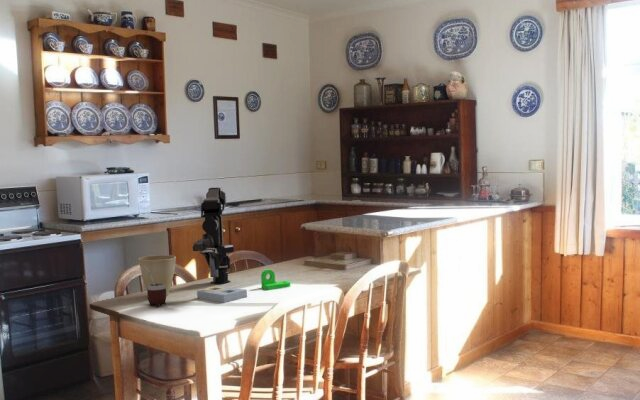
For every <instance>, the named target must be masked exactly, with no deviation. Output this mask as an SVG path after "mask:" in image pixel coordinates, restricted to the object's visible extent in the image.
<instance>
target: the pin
mask: <svg viewBox="0 0 640 400" xmlns="http://www.w3.org/2000/svg"><path fill="white" fill-rule="evenodd" d="M212 253H215V252H209V259H210V268H209V276H210V278H213V277H218V270H216V269H215V261H214V256H213V255H212Z"/></svg>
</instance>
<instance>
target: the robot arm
mask: <svg viewBox="0 0 640 400" xmlns="http://www.w3.org/2000/svg"><path fill="white" fill-rule="evenodd" d="M226 205H227V195H226V192H225V191H223V190H221V187H217V186H216V187H210V188H208V191H207V192H206V193H205V199H203V201H202V202H201V205H200V206H201V208H200V209H201V210H200V217H201V218H204V221H203V222H202V225H201V227H202V228H201V229H202V230H203V231H204V233H203V234H202V238H200V239H198V240H196V241H195V242H193V243H192V244H193V245H192V252H199V253H200V254H201V255H202V256H203V257H204V258H205V261H206V263H207V266H208V269H210V259H209V252H215V253H212V255H213V256H214V261H215V269H216V270H218V277H212V281H210V283H211V284H217V285H221V284H222V285H223V284H226V283H230V282H231V280H229V272H228V270H229V269H232V267H231V266H232V263H231V258H230V256H229V255H228V254H229V253H234V252H235V249H234V248H235V247H234V245H233V244H224V234H223V231H224V230H223V216H222V215H223V212H224V210H225V208H226Z"/></svg>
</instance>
